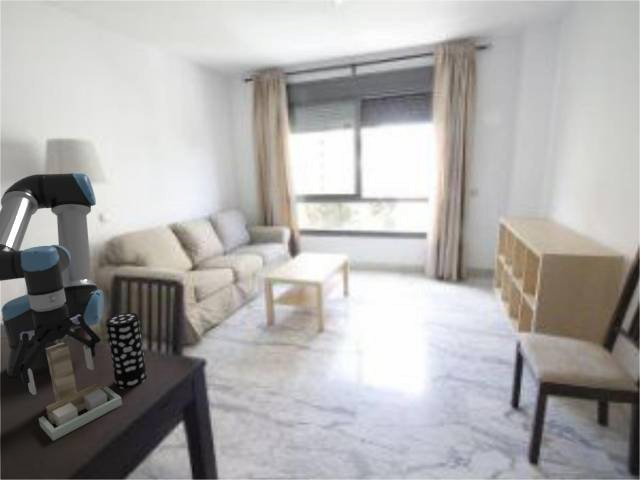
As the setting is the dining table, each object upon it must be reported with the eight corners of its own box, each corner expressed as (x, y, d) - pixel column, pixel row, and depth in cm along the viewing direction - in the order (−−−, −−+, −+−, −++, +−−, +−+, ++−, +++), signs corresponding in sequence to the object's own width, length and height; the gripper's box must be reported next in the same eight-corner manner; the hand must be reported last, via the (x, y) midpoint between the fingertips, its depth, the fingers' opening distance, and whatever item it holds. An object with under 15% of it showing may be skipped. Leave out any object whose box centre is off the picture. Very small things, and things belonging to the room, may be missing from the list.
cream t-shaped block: (38, 409, 98) (27, 354, 94) (87, 387, 107) (78, 336, 104) (52, 424, 92) (40, 366, 89) (103, 399, 101) (94, 346, 98)
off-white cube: (55, 425, 92) (52, 411, 92) (72, 416, 96) (70, 402, 95) (61, 431, 90) (58, 417, 89) (79, 422, 93) (76, 408, 92)
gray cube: (85, 409, 98) (83, 396, 97) (101, 401, 101) (99, 388, 100) (92, 415, 96) (90, 401, 95) (108, 407, 99) (106, 393, 98)
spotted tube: (134, 390, 105) (124, 325, 101) (109, 387, 107) (98, 323, 103) (152, 374, 113) (144, 313, 109) (129, 371, 115) (120, 312, 111)
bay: (40, 427, 92) (38, 418, 91) (107, 394, 104) (106, 386, 104) (53, 441, 87) (51, 432, 86) (122, 405, 99) (121, 397, 99)
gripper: (-10, 327, 83) (9, 410, 88) (106, 294, 103) (117, 363, 107) (-18, 319, 88) (0, 398, 92) (94, 289, 107) (105, 355, 112)
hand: (63, 379), depth 100 cm, fingers open, 13 cm apart
